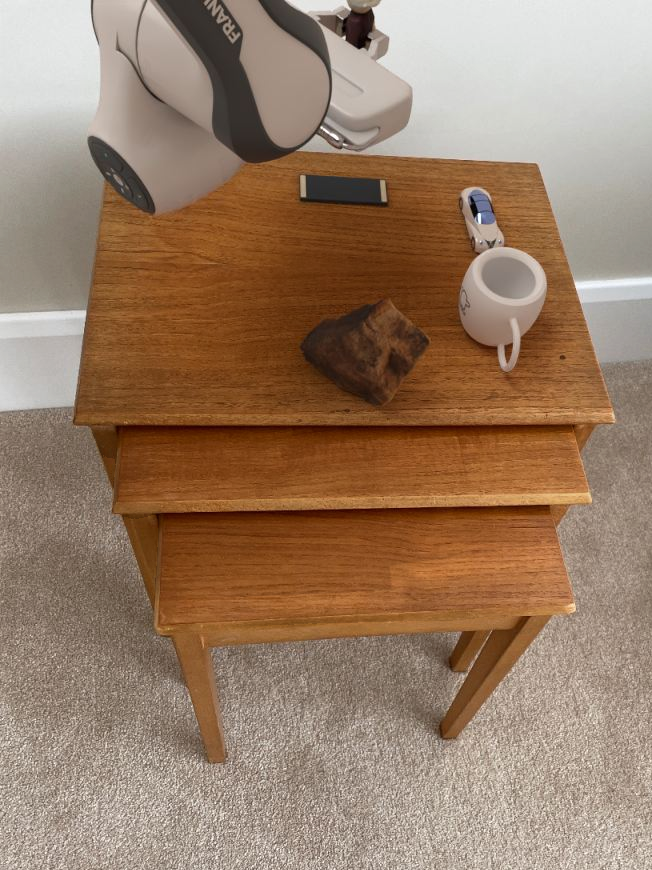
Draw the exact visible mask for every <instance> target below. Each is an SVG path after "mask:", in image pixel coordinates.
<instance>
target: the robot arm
mask: <svg viewBox="0 0 652 870" xmlns="http://www.w3.org/2000/svg"><path fill="white" fill-rule="evenodd" d="M350 11H351V9H349V8H347V7H346V6H344V5H340V6H338V7H337V8H335V9H333V10H310V11H308V12H305V11H303V10H302V9H300V8H299V7H297V6H296V5H295V4H293V3H292V2H291V1H289V0H90V16H91V17H90V18H91V24H92V29H93V33H94V36H95V40H96V42H97V45H98V48H99V67H100V70H99V73H100V76H99V77H100V81H99V82H100V83H99V84H100V85H99V87H100V88H99V97H98V98H99V99H98V105H97V109H96V112H95V115H94V116H93V119H92V121H91V123H90V125H89V127H88V130H87V133H86V141H87V147H88V150H89V153H90V156H91V158H92V161H93V163H94V164H95V167H97V170H98V171H99V172H100V174H101V175H102V177H103V178H104V180H105V181H106V182H107V183H108V184H109V185H110V186H111V187H112V188H113V189H114V190H115V192H116V193H117V194H118V195H119V196H121V197H122V198H123V199H124V200H126V201H127V202H128V203H130V204H131V205H132V206H134V207H135V208H137V209H139V210H140V211H142V212H143V213H144V214H149V215H151V216H161V215H163V216H164V215H167V214H172V213H175V212H177V211H179V210H182V209H184V208H186V207H188V206H191V205H193V204H195V203H196V202H198V201H200V200H201V199H203V198H204V197H207V196H208V195H210V194H212V193H213V192H215V191H216V190H218V189H219V188H221V187H222V186H224V185H225V184H228V182H230V181H231V180H232V179H233V178H235V176H236V175H237V174H238V172H239V170H240V169H242V168H243V166H245V165H247V164H255V165H256V164H263V163H267V162H270V161H271V162H272V161H275V160H278V159H281V158H284V157H286V156H288V155H291V154H293V153H295V152H297V151H298V150H300V149H302V148H303V147H305V145H307V144H308V143H309V142H311V141H312V139H313V138H314V137H315V136H316V135H317V136H318V137H321V139H323V140H324V141H326V142H327V144H329V145H330V146H331V147H333V148H334V149H337V150H342V149H345V150H348V151H353V152H356V153H360V152H364V151H365V150H367V149H368V148H370V147H373V146H376V145H377V144H379V143H381V142H384V141H387V140H388V139H389V138H392V137H393V136H395V135H397V134H399V133H400V132H401V131H403V130H404V129H406V127H407V126H408V124H409V121H410V118H411V114H412V108H413V101H414V100H413V98H414V93H413V88H412V86H411V85H410V84H409V83H408V82H407V81H405V80H403V78H400V76H397V74H395V73H393V72H392V71H390V70H389V69H388V68H386V67H385V66H383V65H382V64H381V63H379V62H378V60H379V59H381V58H382V57H384V56H386V54H387V53H388V51H389V46H390V36H388V34H386V33H383V32H382V31H381V30H379V29H378V28H376V29H374V31H373V32H370V33H368V34H366V38H365V43H366V45H365V47H364V48H361V49H360V50H358V49H357V48H356V47H354V46H353V45H351V44H350V43H348V42H347V41H345V39H344V38H345V36H346V23H347V19H348V17H349V14H350Z"/></svg>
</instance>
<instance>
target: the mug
mask: <svg viewBox="0 0 652 870" xmlns="http://www.w3.org/2000/svg"><path fill="white" fill-rule="evenodd" d="M547 291H548V283H547V276H546V273H545V270H544V268H543V267H542V265H541V264H540V263H539V261H538V260H536V259H535V258H534V257H533V256H531V255H530V254H529V253H527V252H525V251H523V250H520V249H517V248H514V247H509V246H504V247H496V248H493V247H490V248H489V250H486V251H484V252H483V253H479V255H477V256H476V257H475V258H474V259H473V261H472V262H471V263H470V265H469V267H468V268H467V270H466V272H465V274H464V277H463V280H462V282H461V287H460V291H459V297H458V312H459V318H460V321H461V325H462V327H463V329H464V330H465V332H466V333H467V335H469V336H470V337H471V338H472V339H473V340H475V341H476V342H477V343H480V344H482V345H484V346H489V347H497V357H498V362H499V366H500V368H501V370H502V371H503V372H505V373H509V372H511V371H513V370H514V368H515V367H516V364H517V361H518V358H519V354H520V349H521V337H522V336H524V335H525V334H526V333H527V332H528V331H529V330H530V329H531V327H532V326H533V325H534V324H535V322H536V321H537V319H538V317H539V315H540V313H541V310H542V309H543V306H544V303H545V301H546V297H547ZM510 344H512V348H511V355H510V358H509V360H508V362H507V360H506V355H505V354H506V353H505V352H506V351H505V346H508V345H510Z"/></svg>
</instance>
